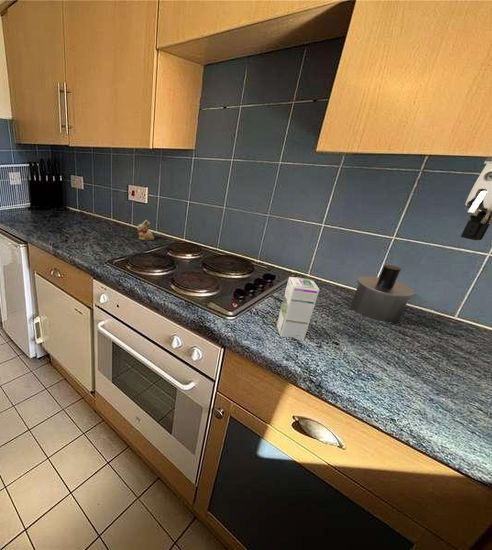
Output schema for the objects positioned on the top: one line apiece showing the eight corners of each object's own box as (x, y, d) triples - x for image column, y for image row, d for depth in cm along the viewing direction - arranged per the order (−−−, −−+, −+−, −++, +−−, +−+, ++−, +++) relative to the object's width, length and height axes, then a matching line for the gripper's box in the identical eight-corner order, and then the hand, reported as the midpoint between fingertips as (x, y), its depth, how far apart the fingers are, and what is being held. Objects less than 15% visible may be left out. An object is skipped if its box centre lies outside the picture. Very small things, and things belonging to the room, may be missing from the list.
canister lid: (362, 276, 94) (370, 256, 91) (415, 290, 85) (425, 269, 83) (351, 287, 86) (359, 265, 83) (408, 304, 77) (419, 280, 75)
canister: (355, 300, 96) (365, 275, 93) (401, 314, 88) (413, 288, 85) (345, 311, 89) (355, 285, 85) (394, 328, 81) (407, 300, 78)
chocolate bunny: (141, 236, 154) (142, 216, 150) (155, 239, 150) (156, 219, 146) (135, 238, 149) (136, 218, 145) (149, 241, 145) (150, 221, 141)
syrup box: (304, 341, 74) (322, 289, 68) (278, 337, 75) (293, 285, 70) (299, 329, 79) (314, 279, 73) (274, 325, 81) (288, 275, 75)
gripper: (517, 158, 60) (472, 245, 68) (556, 159, 65) (509, 241, 72) (469, 156, 67) (432, 236, 74) (507, 157, 71) (469, 232, 79)
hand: (470, 238), depth 73 cm, fingers closed
